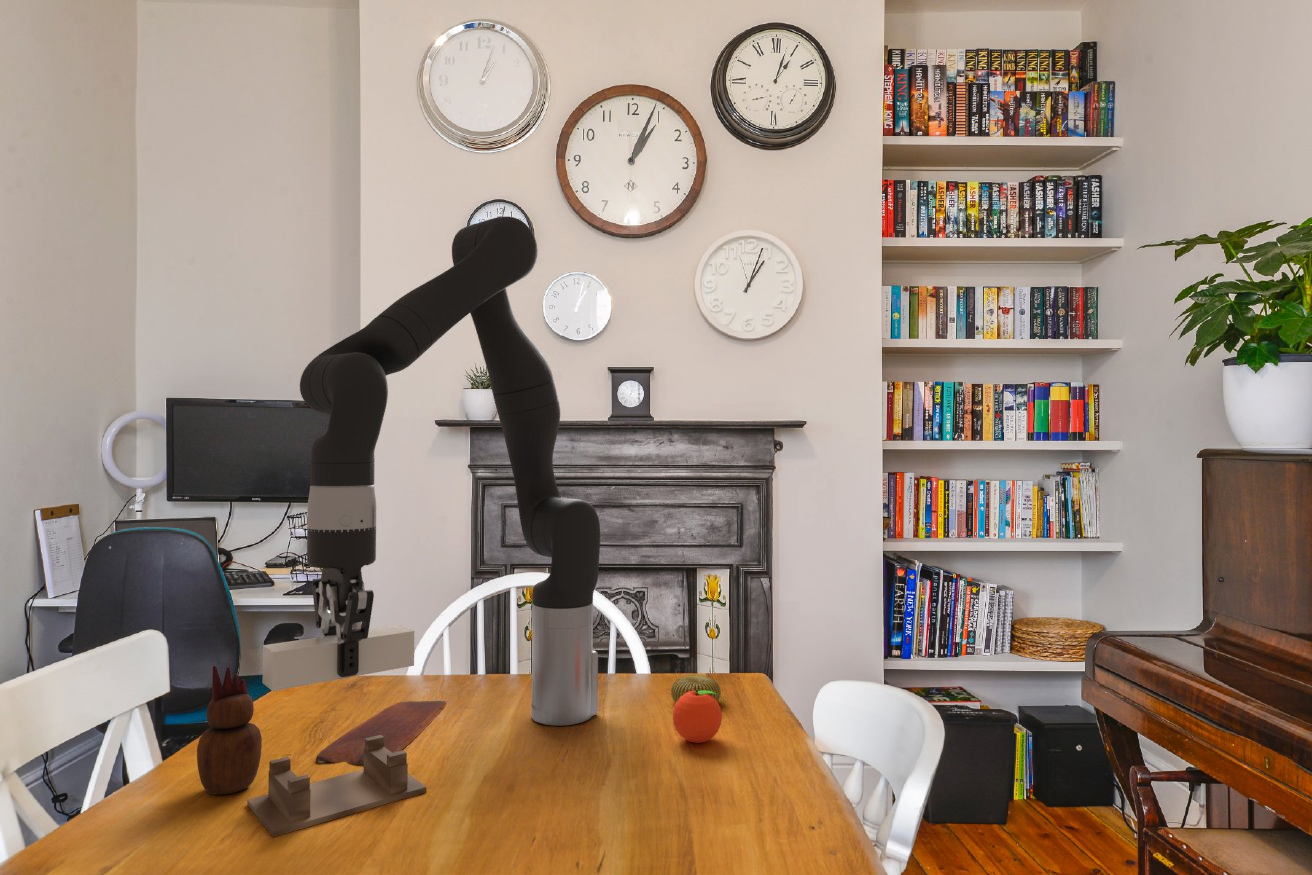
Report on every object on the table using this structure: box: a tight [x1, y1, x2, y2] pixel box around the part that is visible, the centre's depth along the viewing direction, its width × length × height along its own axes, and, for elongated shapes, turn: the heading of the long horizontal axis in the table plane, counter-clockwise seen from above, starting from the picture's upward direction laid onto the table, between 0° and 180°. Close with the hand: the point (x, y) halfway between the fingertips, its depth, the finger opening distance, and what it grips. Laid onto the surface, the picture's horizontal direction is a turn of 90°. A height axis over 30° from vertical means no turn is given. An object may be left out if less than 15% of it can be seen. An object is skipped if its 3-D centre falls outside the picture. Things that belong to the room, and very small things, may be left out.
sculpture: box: [670, 674, 722, 703], centre depth 128 cm, size 8×4×8 cm
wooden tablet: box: [315, 700, 447, 767], centre depth 115 cm, size 27×10×2 cm, turn 175°
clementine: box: [672, 690, 727, 744], centre depth 111 cm, size 8×7×7 cm
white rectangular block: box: [262, 625, 415, 692], centre depth 93 cm, size 16×4×4 cm, turn 131°
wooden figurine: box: [196, 665, 263, 795], centre depth 95 cm, size 7×6×15 cm
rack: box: [246, 735, 427, 838], centre depth 92 cm, size 17×10×5 cm, turn 131°
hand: (340, 670), depth 93 cm, fingers closed on white rectangular block, 4 cm apart
